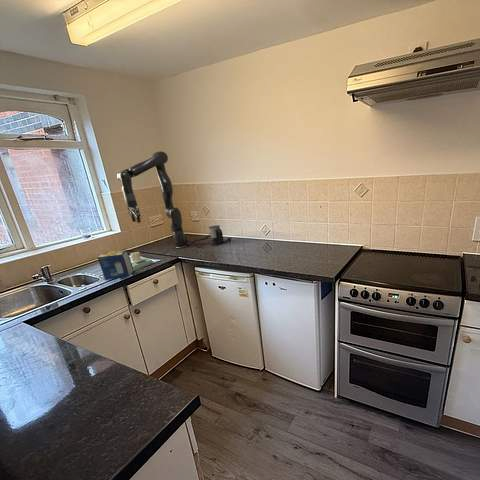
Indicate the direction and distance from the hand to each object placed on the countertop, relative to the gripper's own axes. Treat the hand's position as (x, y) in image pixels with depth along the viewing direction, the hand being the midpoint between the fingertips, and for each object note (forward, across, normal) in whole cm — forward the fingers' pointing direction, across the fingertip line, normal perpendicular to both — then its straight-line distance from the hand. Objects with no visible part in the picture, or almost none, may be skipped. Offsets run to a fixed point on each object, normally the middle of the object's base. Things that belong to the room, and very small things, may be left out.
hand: (136, 221), depth 225 cm
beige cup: (+25, -10, +12) cm, 29 cm away
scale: (+28, -12, +12) cm, 33 cm away
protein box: (+28, -24, +30) cm, 48 cm away
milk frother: (+28, -29, -53) cm, 67 cm away
